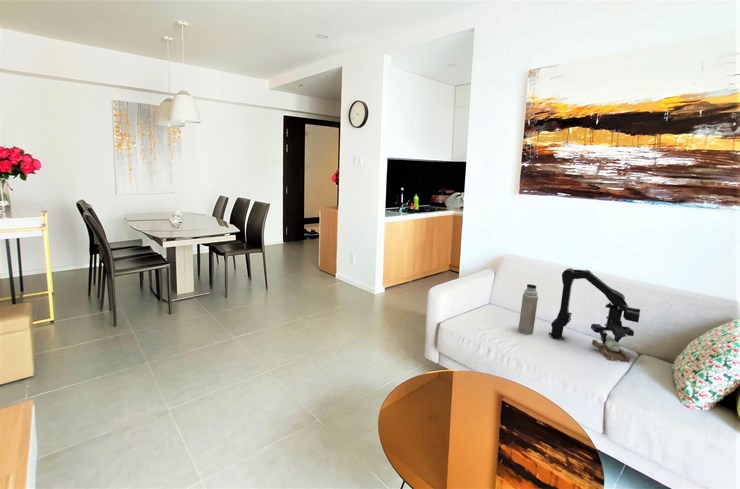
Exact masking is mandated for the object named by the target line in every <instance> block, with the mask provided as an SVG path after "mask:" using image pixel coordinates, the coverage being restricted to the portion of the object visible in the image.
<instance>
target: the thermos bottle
mask: <svg viewBox="0 0 740 489" xmlns="http://www.w3.org/2000/svg"><path fill="white" fill-rule="evenodd" d="M538 300H539V295H538V290H537V286H536V285H535V284H526V289H524V292H523V293H522V299H521V307H520V315H519V320H518V321H519V322H518V330H519V331H520V332H519V331H518V330H517V331H518V332H519V333H521V332H522V333H521V334H523V333H525V334H524V335H533V334H534V328H535V322H536V315H537V306H538ZM532 333H533V334H532Z"/></svg>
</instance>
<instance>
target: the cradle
mask: <svg viewBox="0 0 740 489" xmlns="http://www.w3.org/2000/svg"><path fill="white" fill-rule="evenodd" d="M591 344H592V345H593V346H594V347H595V348H596V347H597V348H598V349H599V350H600V351H601V353H602V354H603V355H604V356H605V357H606V358H607V359H613V360H612V361H615V360H620V361H619V362H627V363H629V362H630V356H629V355H628V354H627V353H626V352H625V351H623V350H622V349H621V348H620V350H619V351H618V352H616V351H611V350H610V349H609V348H608V347H607V346H606V345H604V344H603V342H598V341H597V339H592V342H591ZM597 348H596V349H597ZM598 349H597V350H598ZM599 350H598V351H599ZM600 351H599V352H600ZM602 354H601V355H602ZM603 355H602V356H603ZM604 356H603V357H604ZM605 357H604V358H605ZM606 358H605V359H606ZM607 359H606V360H607Z"/></svg>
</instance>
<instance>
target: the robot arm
mask: <svg viewBox="0 0 740 489" xmlns="http://www.w3.org/2000/svg"><path fill="white" fill-rule="evenodd" d="M561 279H562V280H561V281H562V292H561V301H560V309H559V311H558V314H557V317H556V318H555V319H553V320H552V322H551V323H550V325H551V326H550V327H551V332H548V334H549V336H550V335H551V336H550V337H551V338H552V337H553V338H552V339H556V338H563V339H562V340H565V337H564V336H563V334H564V333H563V332H564V327H566V326H567V325H568V324H570V321H571V320H572V318H571V317H572V312H570V310H569V307H570V302H571V301H570V300H571V293H572V285H573V283H574V281H575V280H581V279H582V280H583V279H584V280H586V281H588V282H589V283H590V284H591V285H592V286H594V287H595V288H596V289H597V290H599V291H600V292H601V293H602V294H603V295H604V296H605V297H606V298H607V300H608V301H609V302H608V303H606V304H605V308H607V309H608V313H607V314H608V315H606V323H605V324H604V326H602V325H601V324H599V323H592V324H590V329H591V331H593V332H594V333H596V334H599V335H600V337H601V338H602V341H601V343H603V344H604V345H605V341H606V336H607V335H609V333H607V332H612V335H613V336H614V338H613V339H614V340H615V341H616V342H617V343H618V344H619V342H620V340H621V339H622V338H626V337H628V336H629V337H634V336H635V332H634V330H633V329H632V328H631V327H630V326H623V321H622V318H623V319H624V320H625V321H630V322H632V323H633V322H634V323H639V321H640V316H641V315H640V313H641V309H640V308H635V307H630V306H629V305H628V302H626V300H625V299H626V296H625V295H624V294H623V293H622V292H619V291H618V290H616V289H614V288H612V287H610V286H609V285H608V284H607V283H605V282H603V281H602V280H601V279H600V278H598V277H597V275H595V274H594V273H593V272H592V271H591V270H588V269H586V270H585V269H573V268H571V267H570V268H567V269H565V270H564V271H562V273H561Z"/></svg>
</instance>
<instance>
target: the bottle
mask: <svg viewBox="0 0 740 489" xmlns="http://www.w3.org/2000/svg"><path fill="white" fill-rule="evenodd" d="M599 338H600V341H601V342H602V338H601V336H600V337H599ZM605 345H606V346H607V347H608V348H609V349H610V350H611V351H616V352H618V351H619V350H620V349H621V348H620V347H621V346H620V344H619V342H618V343H617V342H616V341H615V340H614V338H613V337H612V336H611V335H610V334H608V335H607V336H606V341H605Z"/></svg>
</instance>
